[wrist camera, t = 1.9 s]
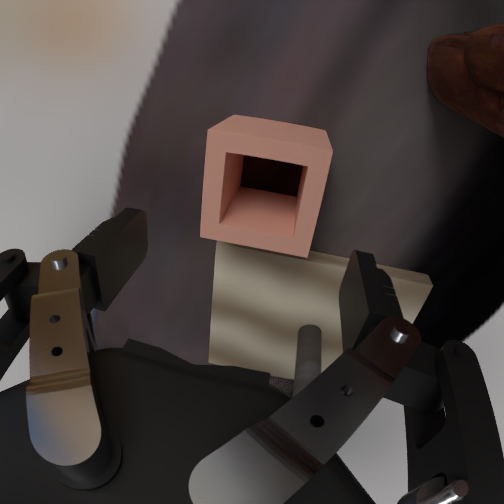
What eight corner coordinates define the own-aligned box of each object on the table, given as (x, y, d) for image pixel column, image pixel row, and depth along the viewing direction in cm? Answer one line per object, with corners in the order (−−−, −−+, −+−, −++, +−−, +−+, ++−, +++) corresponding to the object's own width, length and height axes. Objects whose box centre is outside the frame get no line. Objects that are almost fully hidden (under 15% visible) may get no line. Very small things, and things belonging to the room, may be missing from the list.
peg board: (221, 233, 24) (179, 318, 16) (427, 274, 23) (464, 363, 15) (212, 351, 32) (186, 429, 24) (369, 378, 31) (374, 456, 23)
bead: (234, 114, 20) (207, 129, 14) (325, 130, 19) (333, 151, 14) (225, 196, 23) (200, 237, 18) (308, 212, 22) (307, 257, 17)
